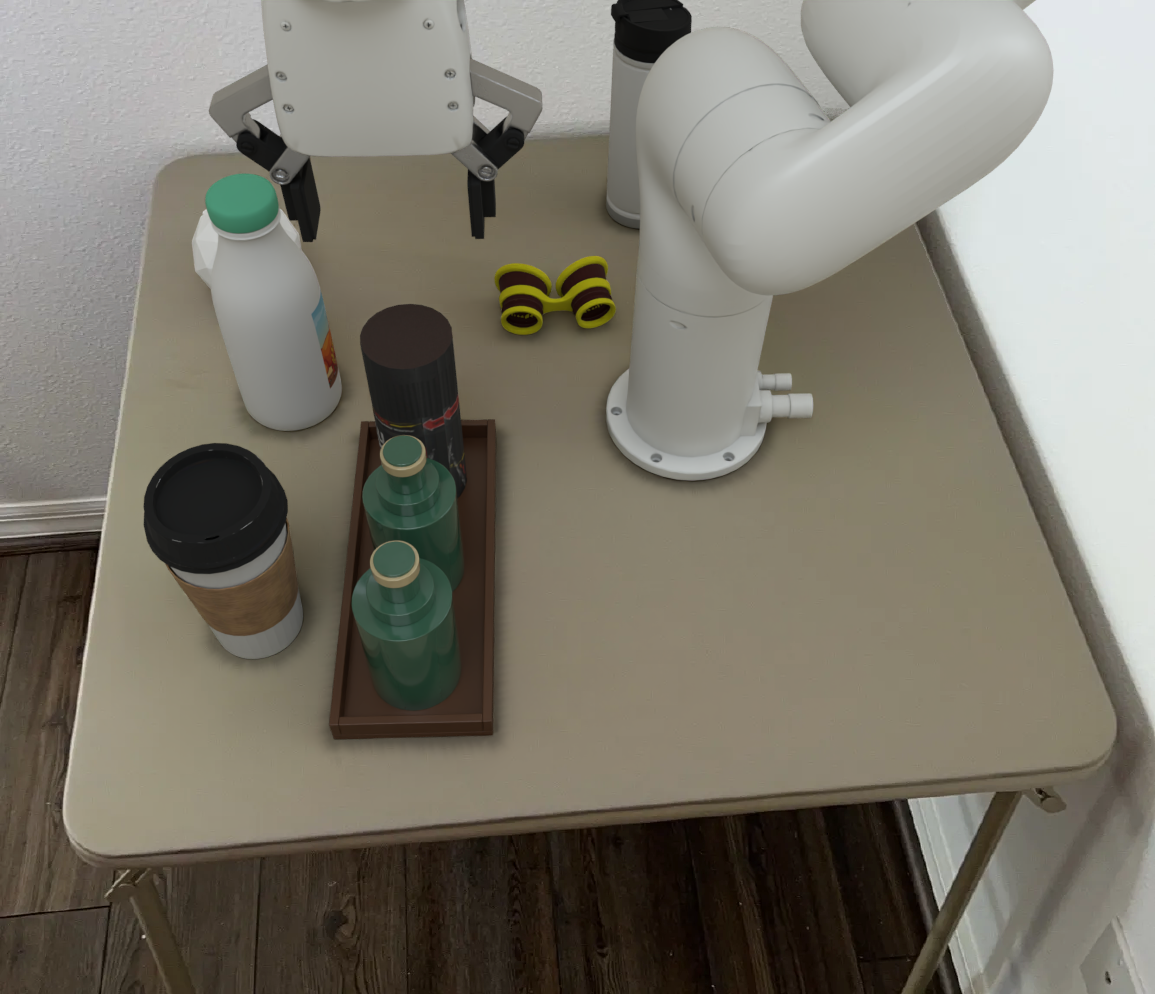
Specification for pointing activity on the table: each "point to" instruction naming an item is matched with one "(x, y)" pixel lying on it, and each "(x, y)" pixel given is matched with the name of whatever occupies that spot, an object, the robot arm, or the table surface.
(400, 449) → the bottle middle
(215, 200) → the milk bottle
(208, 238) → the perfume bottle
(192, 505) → the coffee cup
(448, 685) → the bottle front
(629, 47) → the travel mug
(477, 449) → the tray
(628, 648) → the table surface
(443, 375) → the deodorant
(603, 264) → the opera glasses
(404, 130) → the robot arm
